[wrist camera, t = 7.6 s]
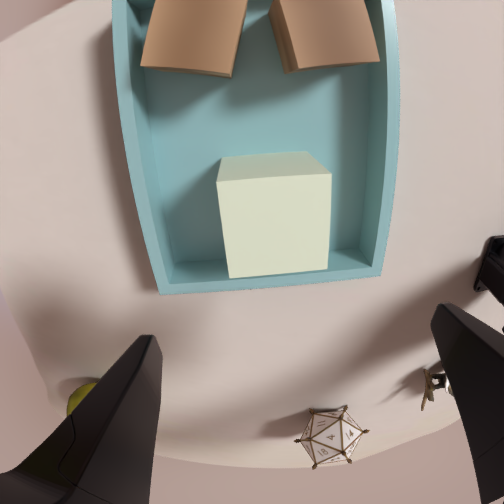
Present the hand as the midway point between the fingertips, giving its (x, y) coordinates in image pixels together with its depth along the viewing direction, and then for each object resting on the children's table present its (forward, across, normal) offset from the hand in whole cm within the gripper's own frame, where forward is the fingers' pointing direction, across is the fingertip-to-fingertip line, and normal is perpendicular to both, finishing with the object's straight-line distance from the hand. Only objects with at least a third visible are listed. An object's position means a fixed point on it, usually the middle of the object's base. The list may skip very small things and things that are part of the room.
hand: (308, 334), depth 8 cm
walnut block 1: (+11, +3, -10) cm, 15 cm away
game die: (+12, -7, +30) cm, 33 cm away
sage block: (+11, 0, 0) cm, 11 cm away
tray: (+12, 0, -4) cm, 13 cm away
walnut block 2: (+11, -3, -10) cm, 15 cm away
